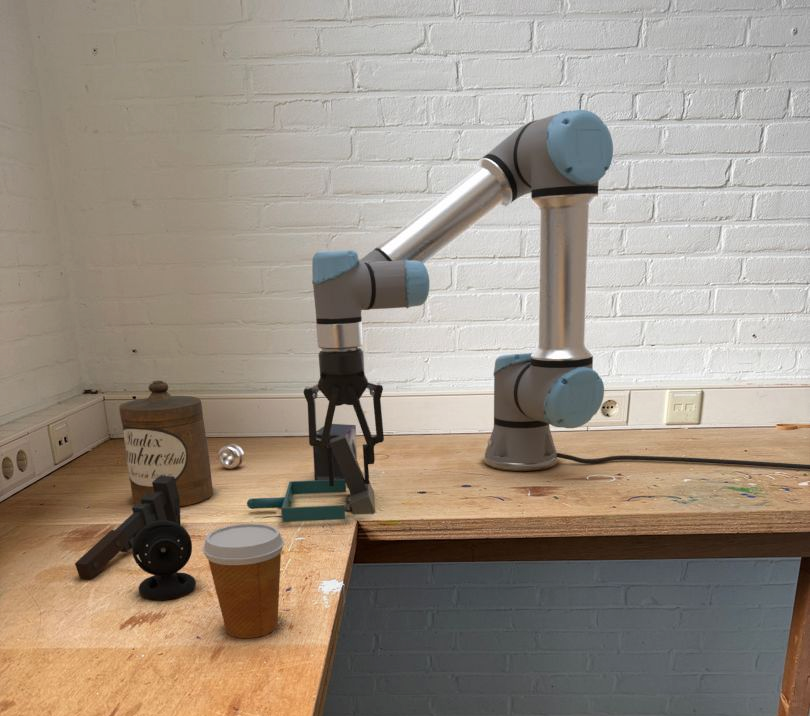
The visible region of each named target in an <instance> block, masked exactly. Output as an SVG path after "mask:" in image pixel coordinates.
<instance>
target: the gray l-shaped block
mask: <svg viewBox="0 0 810 716" xmlns="http://www.w3.org/2000/svg"><path fill="white" fill-rule="evenodd" d="M330 446H331V449H332V451H333V454H334V456H335V458H336V461H337V463H338V465H339V468H340V470H341V472H342V475H343V477H344V480H345V482H346V488H347V489H348V492H349V495H350V506H351V508H352V510H353V512H352V513H353V515H371V514H373V513H376V503H375V491H374V489H373V487H372V483H371V481H370V480H369V484H365V475H364V474H363V472H362V471H363V470H362V469H361V467H360V464H359V462H358V458H357V459H356V457H355V455H354V452H353V450H352V447H351V445H350V442H349V440H348V438H347V435H346V434H344V435H341V436H339V437H336V438H333V439H331V440H330Z"/></svg>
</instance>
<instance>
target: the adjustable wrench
mask: <svg viewBox="0 0 810 716" xmlns="http://www.w3.org/2000/svg"><path fill="white" fill-rule="evenodd" d="M152 485H153V488H154V492H155V493H147V494H146V495H145V496H144V497H142V498H141V503H142V505H139V504H135V503H134V505H133V506H132V507H131V510H132V513H131V515H129V517H128V518H126V519H125V520H124V521H123V522H122V523H121V524H120V525H119V526H118V527H116V528H115V529H111V530H109V531H108V532H107V533H106V534H105V535H103V536H102V538H101V539H100V540H98V541H97V542H96V543H95V544H94V545H93V546H92V547H91V548H90V549H89V550H87V552H85V553H84V554H83V555H82V556H81V557H80V558H79V559H78V560H77V561H76V562H75V563H74V565H75V568H76V572H77V574H78V577H79V579H85V580H93V579H94V577H96V576H97V575H98V574H99V573H100V572H101V571H102V570H103V569H104V568H105V567H106V566H107V565H109V563H110V562H111V561H112V560H113V559H114V558H115V557H116V556H117V555H118V554H120V553H128V552H129V551H132V544H133V540H134V538H135V536H136V534H137V532H138V531H139V530H140V529H141V528H142V527H144V526H145V525H147V524H149V523H151V522H153V521H158V520H167V521H172V522H176V523H178V524H179V525H181V506H180V497H179V493H178V490H177V486H176V482H175V478H174V476H159V477H158V478H157V479H155V480H154V481H153V482H152ZM181 526H182V525H181Z"/></svg>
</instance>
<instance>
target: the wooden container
mask: <svg viewBox="0 0 810 716" xmlns="http://www.w3.org/2000/svg"><path fill="white" fill-rule="evenodd" d="M147 389H148V391H149V392H150V394H149V396H148V397H147V398H146V397H145V398H140V399H134V400H129V401H126V402H123V403H121V404H120V405H119V406H118V407H119V416H120V422H121V424H122V432H123V440H124V447H125V455H126V463H127V465H126V466H127V471H128V478H129V482H130V489H131V496H132V497H131V498H132V501H133V503H134V505H135V504H139V505H142V503H141V498H142V497H144V496H145V495H146V494H147V493H155V492H154V488H153V485H152V482H153V481H154V480H155V479H157V478H158V477H159V476H174V478H175V482H176V486H177V490H178V493H179V497H180V507H184V506H190V505H195V504H198V503H201V502H203V501H205V500H208V499H209V498H210V497H212V496H213V494H214V489H213V488H214V487H213V479H212V471H211V470H212V469H211V462H210V453H209V446H208V442H207V441H208V439H207V434H206V428H205V427H206V426H205V422H204V412H203V406H202V400H201V398H199V397H196V396H191V395H190V396H187V395H171V394H170V393H169V392H168V390H169V384H168V383H166V382H164V381H163V380H153V381H152V383H150V384H149V385H148V387H147Z"/></svg>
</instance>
